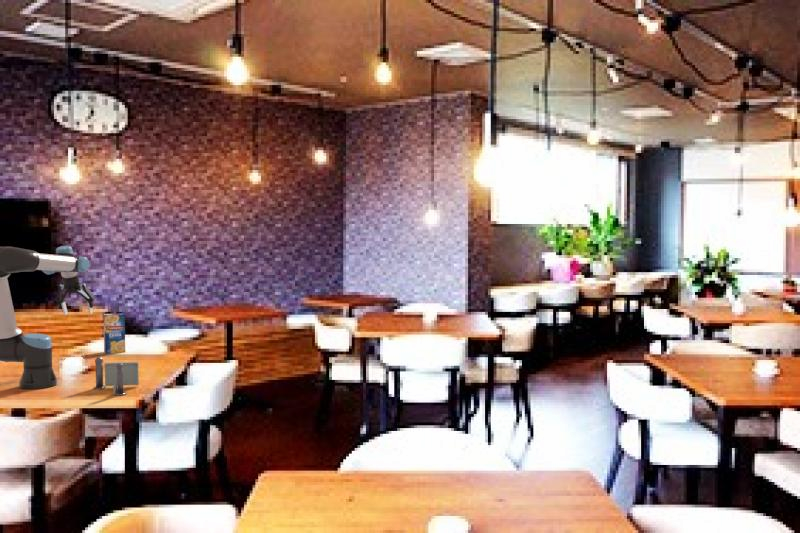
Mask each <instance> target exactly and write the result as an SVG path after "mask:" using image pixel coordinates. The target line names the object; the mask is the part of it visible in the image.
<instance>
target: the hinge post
mask: <svg viewBox="0 0 800 533" xmlns="http://www.w3.org/2000/svg"><path fill="white" fill-rule="evenodd" d="M94 363H95V386H94V387H93V390H96V389H98V390H104V389H103V388H105V389H106V387H107V386H105V385H104V359H103V357H100V356H98V357H96V358H95V360H94Z"/></svg>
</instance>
